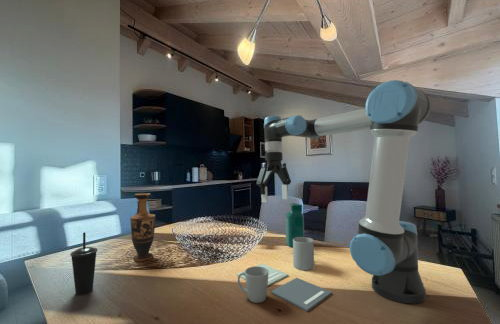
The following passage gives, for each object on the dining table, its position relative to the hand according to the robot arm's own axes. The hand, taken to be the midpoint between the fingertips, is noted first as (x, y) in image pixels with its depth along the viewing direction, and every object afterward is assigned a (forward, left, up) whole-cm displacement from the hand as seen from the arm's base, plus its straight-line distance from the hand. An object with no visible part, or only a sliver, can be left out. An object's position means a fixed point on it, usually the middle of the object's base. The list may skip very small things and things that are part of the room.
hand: (275, 200), depth 104 cm
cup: (-13, +26, -27) cm, 40 cm away
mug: (-9, -7, -27) cm, 30 cm away
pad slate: (-22, +13, -27) cm, 37 cm away
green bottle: (+9, -25, -27) cm, 38 cm away
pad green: (-4, +13, -27) cm, 30 cm away
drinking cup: (+30, +65, -27) cm, 76 cm away
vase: (+47, +40, -27) cm, 67 cm away
